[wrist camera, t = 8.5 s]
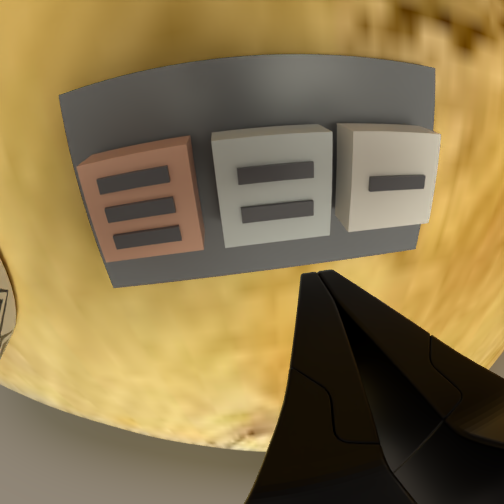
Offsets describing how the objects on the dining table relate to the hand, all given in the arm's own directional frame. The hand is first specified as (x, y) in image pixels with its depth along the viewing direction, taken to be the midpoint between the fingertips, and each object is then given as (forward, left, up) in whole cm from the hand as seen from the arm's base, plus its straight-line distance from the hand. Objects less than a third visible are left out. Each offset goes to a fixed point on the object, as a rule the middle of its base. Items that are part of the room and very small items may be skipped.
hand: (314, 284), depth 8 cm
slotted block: (+6, 0, -10) cm, 11 cm away
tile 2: (0, 0, -9) cm, 10 cm away
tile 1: (-6, 0, -10) cm, 11 cm away
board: (0, 0, -10) cm, 10 cm away
